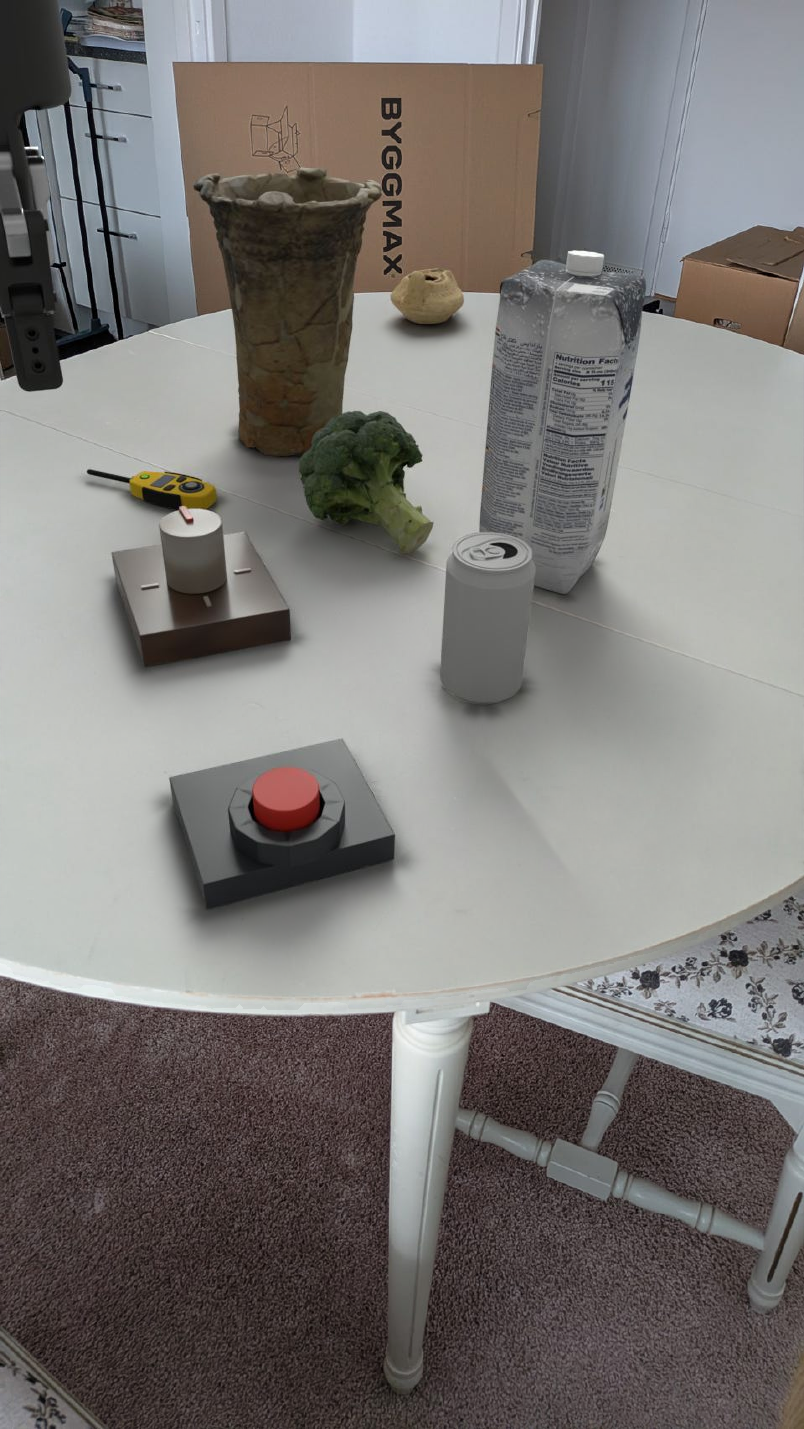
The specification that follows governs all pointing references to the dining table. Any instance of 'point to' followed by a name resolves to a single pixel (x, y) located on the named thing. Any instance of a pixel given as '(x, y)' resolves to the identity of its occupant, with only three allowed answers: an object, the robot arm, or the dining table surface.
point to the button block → (262, 860)
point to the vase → (289, 296)
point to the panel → (200, 605)
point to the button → (286, 799)
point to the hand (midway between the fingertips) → (41, 385)
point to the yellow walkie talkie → (167, 489)
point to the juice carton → (559, 409)
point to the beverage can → (486, 617)
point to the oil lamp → (428, 296)
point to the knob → (193, 550)
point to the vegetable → (364, 475)
